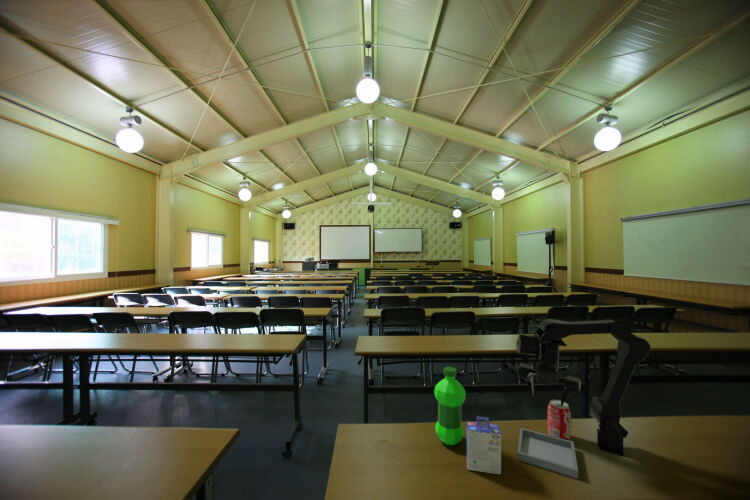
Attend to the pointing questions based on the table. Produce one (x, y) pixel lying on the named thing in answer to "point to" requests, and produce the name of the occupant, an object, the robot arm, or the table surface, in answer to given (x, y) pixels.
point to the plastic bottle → (449, 408)
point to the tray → (547, 452)
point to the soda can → (559, 420)
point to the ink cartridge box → (483, 446)
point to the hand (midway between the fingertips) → (546, 400)
